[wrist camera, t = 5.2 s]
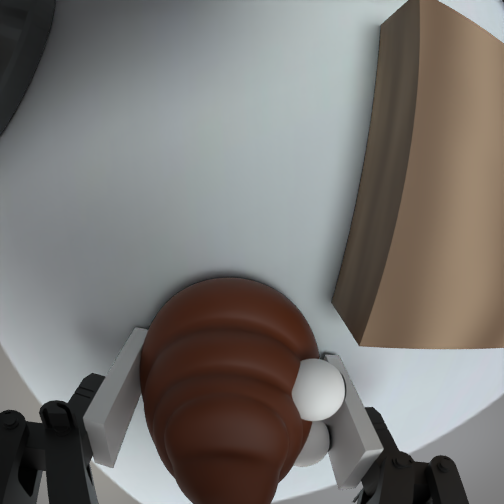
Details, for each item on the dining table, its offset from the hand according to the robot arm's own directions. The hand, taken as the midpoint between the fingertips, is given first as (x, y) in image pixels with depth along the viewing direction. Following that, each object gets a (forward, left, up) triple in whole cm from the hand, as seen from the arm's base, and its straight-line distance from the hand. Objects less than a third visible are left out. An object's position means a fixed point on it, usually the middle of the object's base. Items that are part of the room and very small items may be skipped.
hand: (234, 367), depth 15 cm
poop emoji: (0, 0, -1) cm, 1 cm away
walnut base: (+11, +11, 0) cm, 16 cm away
